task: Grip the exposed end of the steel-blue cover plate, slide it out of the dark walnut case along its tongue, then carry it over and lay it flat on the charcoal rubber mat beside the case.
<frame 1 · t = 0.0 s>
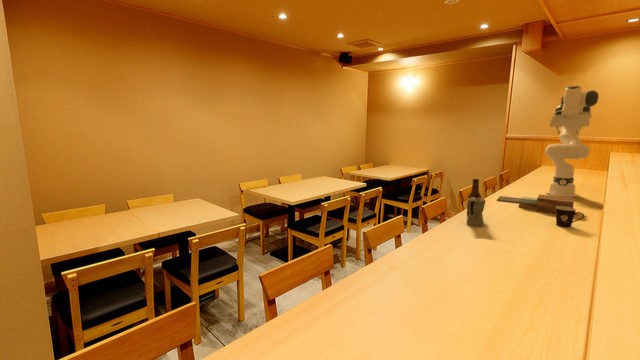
hand: (567, 133, 201), 48 cm above the counter, tool pointing down, fingers open, 8 cm apart
coffee mug: (566, 226, 170), on the counter
beer bottle: (473, 217, 191), on the counter
walnut case: (554, 211, 197), on the counter
cover plate: (539, 203, 201), point 4 cm above the counter, touching walnut case
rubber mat: (518, 201, 221), on the counter
coffeepot: (474, 225, 177), on the counter
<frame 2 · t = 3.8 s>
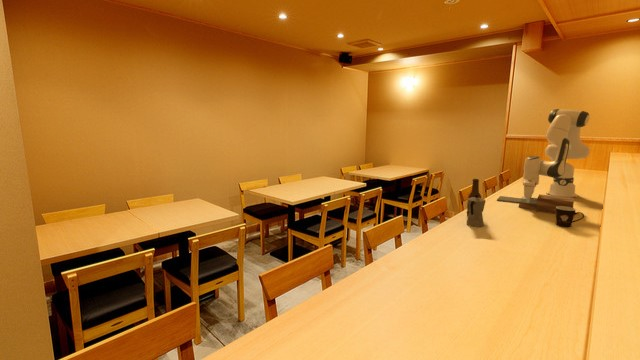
hand: (528, 201, 205), 4 cm above the counter, tool pointing down, fingers closed on cover plate, 6 cm apart
cover plate: (539, 203, 201), point 4 cm above the counter, touching gripper, walnut case
everything else where it was.
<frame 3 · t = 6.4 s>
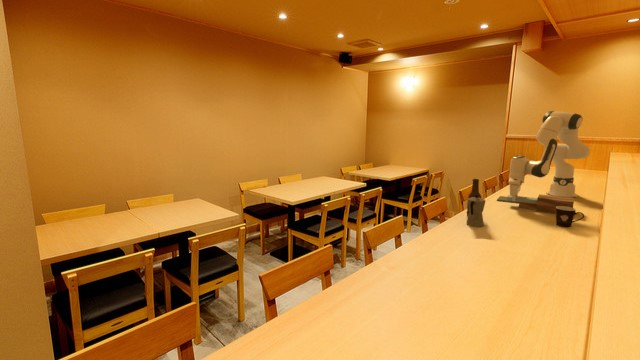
hand: (514, 199, 210), 4 cm above the counter, tool pointing down, fingers closed on cover plate, 6 cm apart
cover plate: (525, 201, 206), point 4 cm above the counter, touching gripper
everything else where it was.
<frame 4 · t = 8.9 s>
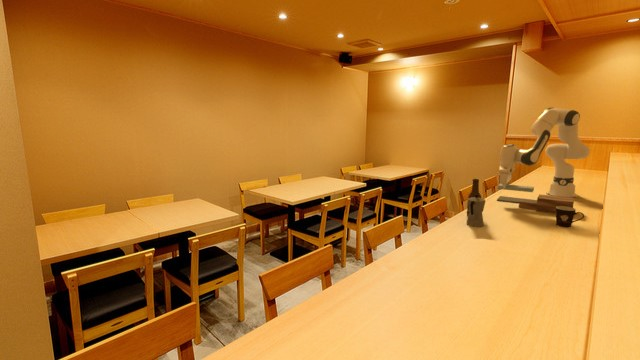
hand: (505, 188, 213), 12 cm above the counter, tool pointing down, fingers closed on cover plate, 6 cm apart
cover plate: (515, 189, 209), point 11 cm above the counter, touching gripper
everything else where it was.
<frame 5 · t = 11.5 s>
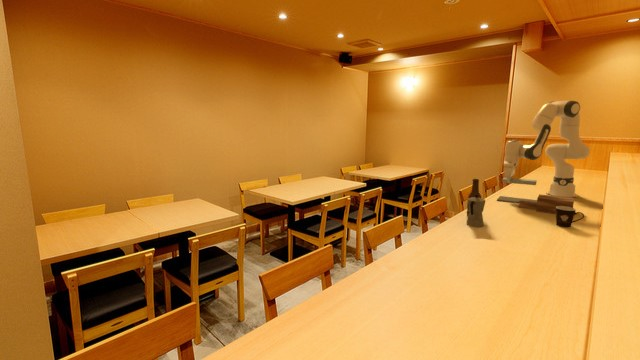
hand: (509, 181, 223), 14 cm above the counter, tool pointing down, fingers closed on cover plate, 6 cm apart
cover plate: (518, 183, 219), point 13 cm above the counter, touching gripper
everything else where it was.
when the fingers open (3 cm above the counter, at t = 13.8 s): cover plate drops 2 cm, resting on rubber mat.
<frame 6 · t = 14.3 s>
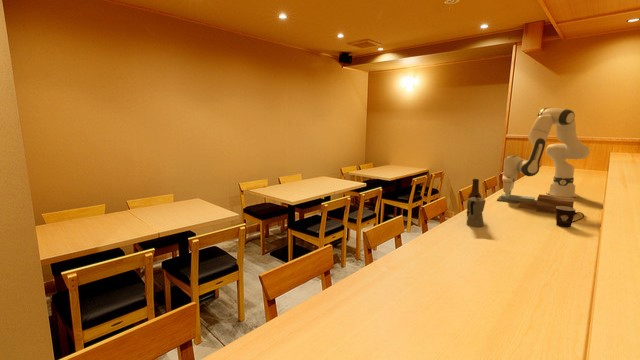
hand: (508, 196, 225), 3 cm above the counter, tool pointing down, fingers open, 8 cm apart
cover plate: (517, 199, 222), point 1 cm above the counter, touching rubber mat
everything else where it was.
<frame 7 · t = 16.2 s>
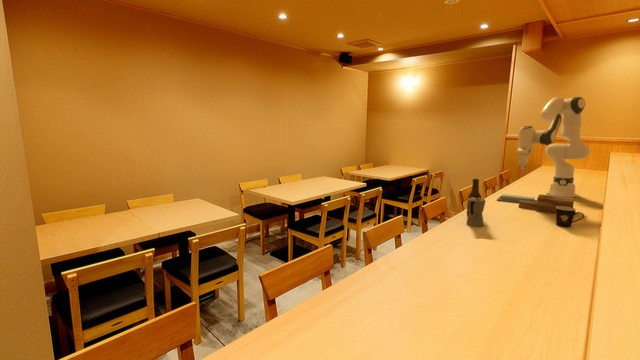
hand: (523, 169, 218), 23 cm above the counter, tool pointing down, fingers open, 8 cm apart
nothing on the counter moved.
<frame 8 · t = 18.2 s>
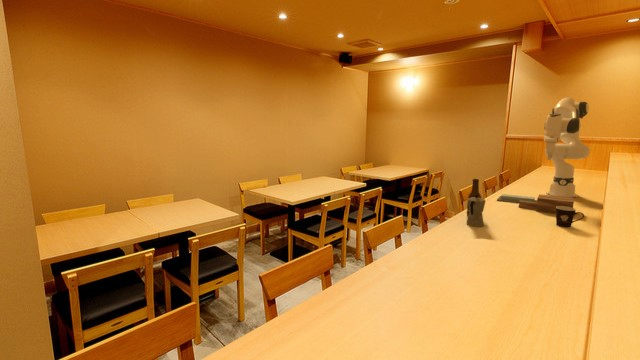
hand: (549, 159, 208), 31 cm above the counter, tool pointing down, fingers open, 8 cm apart
nothing on the counter moved.
at the end: cover plate inside the target area on the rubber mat (0.1 cm from its centre), point 1.0 cm above the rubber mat's base; cover plate tilted 0°; the gripper is holding nothing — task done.
